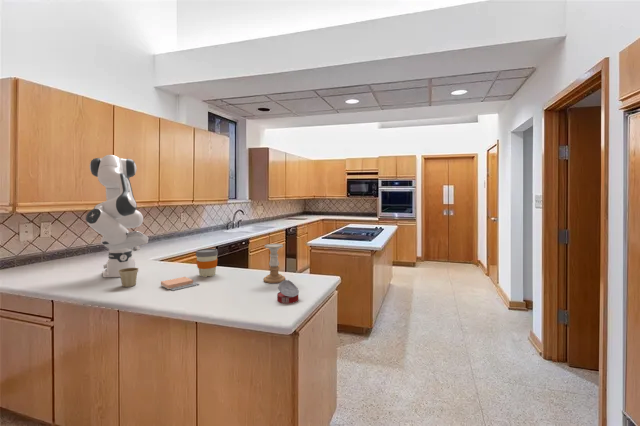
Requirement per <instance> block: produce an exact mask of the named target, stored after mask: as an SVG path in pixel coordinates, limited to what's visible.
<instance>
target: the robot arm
mask: <svg viewBox="0 0 640 426" xmlns="http://www.w3.org/2000/svg"><path fill="white" fill-rule="evenodd" d="M89 170H90V174H91V175H92V176H94V177H96V178H97V180H98V182H99V184H101V185H102V186H104V187H105V198H106V200H105V201H102V202H101V203H98V204H96V205H95V206H94V207H93V208H92V209H91V210H90V211H88V213H87V214H86V216H85V222H86V223H87V224H88V226H89V227H90V228H91V229H92V230H93V231H95V232H97V234H99V235H102V236H101V239H100V242H99V243H100V244H101V245H102V246H103V247H105V248H107V249H108V251H109V252H108V255H107V256H108V259H107V262H106V264H103V267H102V268H103V269H105V270H103V271H101V272H102V278H121V276H120V274H119V272H118V271H119V270H121V269H125V268H137V266H136V260H135V258H133V252H135V251H139V250H141V249H140V248H141V247H140V246H145V245H147V244H148V243H149V239H150V238H149V236H148V235H146V234H144V233H143V232H141V231H138V230H137V231H135V230H133V231H130V230H129V229H133V228H138V227H140V226H142V224H143V222H144V216H143V214H142V213H141V211H140V210H137V208H138V204H137V202H136V199H135V197H134V192H133V187H132V185H131V184H132V183H131V180H130V178H133V177H134V176H136V173H137V170H138V168H137V164H136V162H135V160H134V159H131V158H121V157H119V156H116V155H114V154H106V155H105V156H103V157H97V158H96V157H95V158H93V159H91V160H90V163H89ZM139 271H140V269H139V270H138V272H139Z"/></svg>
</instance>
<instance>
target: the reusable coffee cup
mask: <svg viewBox="0 0 640 426" xmlns="http://www.w3.org/2000/svg"><path fill="white" fill-rule="evenodd" d="M218 255H219V252H218V249H217V248H201V249H197V250H196V251H195V257H196V267H197V269H198V274H199V276H200V277H201V276H203V277H202V278H208V277H207V276H210V277H213V275H214V276H215V275H216V273H217V271H216V270H217V267H218Z"/></svg>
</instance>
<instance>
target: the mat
mask: <svg viewBox="0 0 640 426" xmlns="http://www.w3.org/2000/svg"><path fill="white" fill-rule="evenodd" d="M196 285H197V286H200V283H198V282H196V281H193V284H189V285H185V286H181V287H176V288H172V289H169V290H170V291H172V292H173V291H178V290H183V289H184V290H185V289H187V288H192V287H195V286H196ZM197 286H196V287H197Z"/></svg>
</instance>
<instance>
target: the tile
mask: <svg viewBox="0 0 640 426" xmlns="http://www.w3.org/2000/svg"><path fill="white" fill-rule="evenodd" d="M193 282H194V280H193V279H191V278H189V277H186V276H183V277H182V276H181V277H175V278H172V279H167V280H162V281H161V280H160V286H161V287H163V288H166V289H167V290H170V289H172V288H176V287H181V286H185V285H189V284H193Z"/></svg>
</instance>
